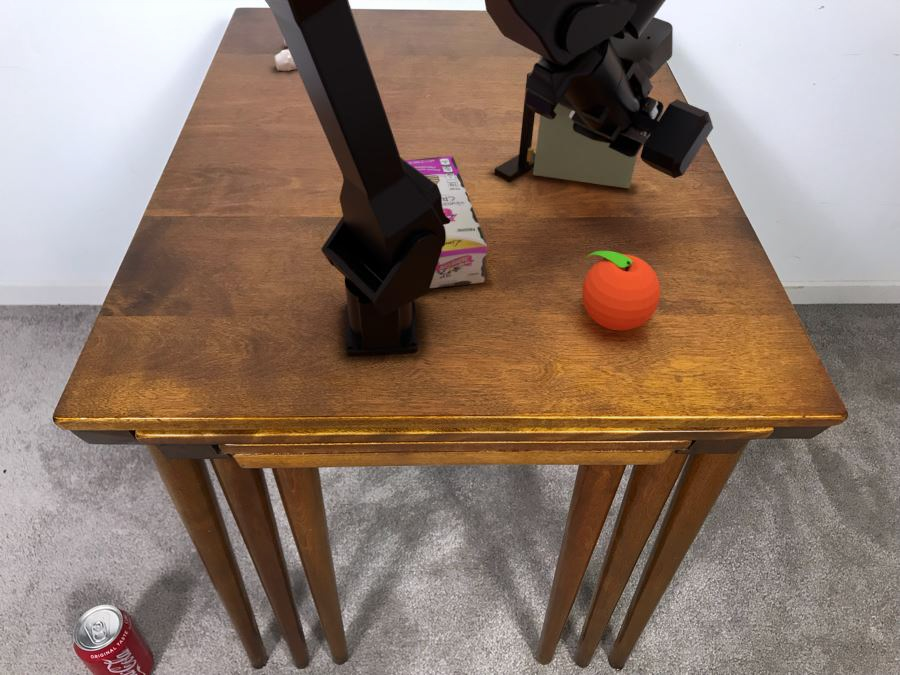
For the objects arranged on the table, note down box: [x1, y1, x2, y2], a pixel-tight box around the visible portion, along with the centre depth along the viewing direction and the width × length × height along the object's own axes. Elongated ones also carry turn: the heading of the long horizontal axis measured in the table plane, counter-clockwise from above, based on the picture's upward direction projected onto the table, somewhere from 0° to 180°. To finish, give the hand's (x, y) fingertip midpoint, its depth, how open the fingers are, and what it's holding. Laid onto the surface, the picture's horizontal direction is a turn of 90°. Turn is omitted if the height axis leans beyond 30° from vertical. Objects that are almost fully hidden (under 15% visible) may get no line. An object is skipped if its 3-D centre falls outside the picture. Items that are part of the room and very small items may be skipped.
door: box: [532, 103, 639, 189], centre depth 80 cm, size 1×11×10 cm, turn 77°
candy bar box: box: [404, 155, 488, 289], centre depth 73 cm, size 11×5×16 cm
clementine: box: [581, 250, 661, 331], centre depth 65 cm, size 8×7×7 cm
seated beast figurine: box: [273, 39, 297, 72], centre depth 100 cm, size 10×9×12 cm
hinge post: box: [494, 71, 536, 183], centre depth 81 cm, size 6×3×12 cm, turn 135°
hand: (633, 143), depth 78 cm, fingers closed
